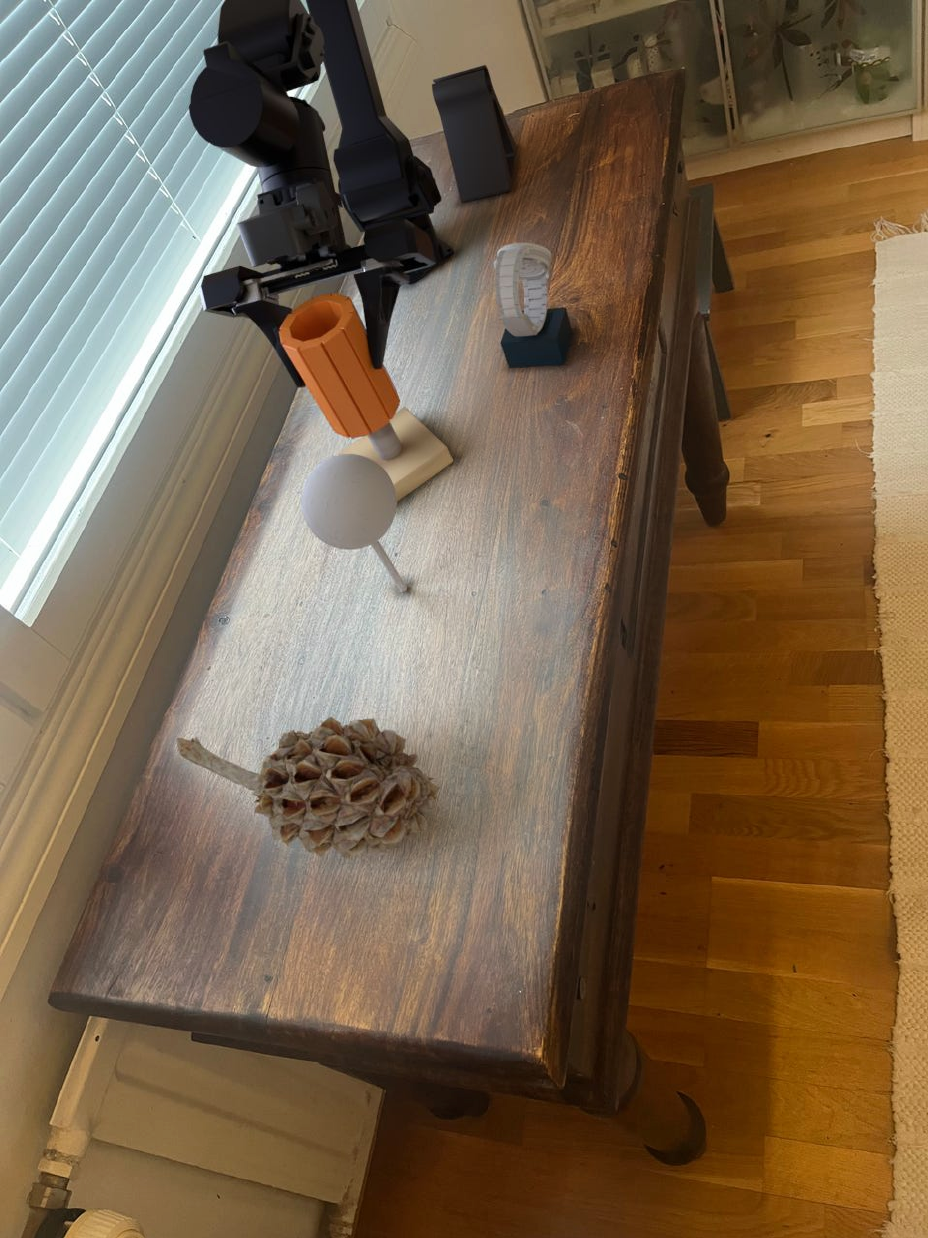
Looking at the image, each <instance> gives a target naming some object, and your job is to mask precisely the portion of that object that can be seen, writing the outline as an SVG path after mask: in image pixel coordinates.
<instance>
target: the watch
mask: <svg viewBox="0 0 928 1238" xmlns="http://www.w3.org/2000/svg"><path fill="white" fill-rule="evenodd" d="M551 260H552V252H551V251H550V249H548V248H546V247H545V246H543V245H540V244H536V243H530V242H514V243H508V244H506V245H503V246H502V247H500V248H499V249H498V251H497V252H496V259H495V260H493V268H494V290H495V298H496V299H495V300H496V304H497V309H498V312H499V315H500V317H501V318H500V321H501V323H502V325H503V326H504V331H503V333H502V337H501V340H500V343H499V344H500V346H501V349H502V352H503V354H504V358H505V360H506V363H507V366H508V368H509V369H517V368H533V367H534V368H535V367H551V366H564V365H565V363H566V360H567V356H568V352H569V349H570V345H571V343H572V338H573V335H574V331H573V329H572V328H573V327H572V324H571V320H570V317H569V313H568V310H567V307H566V306H564V307H551V308H548V305H549V295H548V293H549V286H548V285H549V284H548V279H550V271H551ZM520 282H522V286H523V288H522V289H523V296H524V298H523V300H524V301H523V303H524V307H523V310H522V305H521V299H520V294H519V293H520V284H519V283H520Z"/></svg>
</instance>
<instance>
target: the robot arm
mask: <svg viewBox="0 0 928 1238" xmlns="http://www.w3.org/2000/svg"><path fill="white" fill-rule="evenodd" d="M305 3H306V7H307V8H306V7H305V5H304V3H303V2H302V0H224V1H223V3H222V4H221V6H220V9H219V18H218V19H219V20H218V27H217V37H216V39H217V44H216V45H213V46H209V47H207V48H204V49H203V53H202V54H203V57H204V62H205V67H204V68H203V69H202V70H201V72H200V73H199V74H198V76H197V77H196V80H195V81H194V82H193V83H194V84H193V86H192V89H191V93H190V101H189V103H190V104H189V105H188V112H189V117H190V120H191V123H192V127H194V129H195V131H196V133H197V134H198V135H199V136H200V137H201V138H202V139H203V140H204V141H205V142H206V143H208V144H210V145H211V146H214V147H215V148H217V149H219V150H220V151H222V152H225V153H227V154H228V155H230V156H231V157H233V158H235V159H237V160H239V161H241V162H243V163H245V164H247V165H248V166H250V167H255V168H256V170H257V173H258V178H259V182H260V187H261V191H262V192H261V193H259V194H257V195H256V196H257V200H256V201H257V208H258V214H256V215H253V216H251V217H248V218H246V219H244V220H242V221H240V222H238V223H236V226H237V229H238V231H239V235H240V238H241V240H242V242H243V246H244V248H245V251H246V254H247V256H248V260H249V261H250V265H251V267H252V268H255V267H256V268H257V267H260V266H264V265H266V264H267V265H270V266H273V265H278V268H275V269H271V270H268V271H264V272H262V271H261V272H260V271H257V270H254V269H251V268H249V267H246V266H244V265H237V266H233V267H230V268H227V269H223V270H219V271H216V272H213V273H212V272H211V273H209V274H206V275H205V274H204V275H203V278H202V281H201V284H200V287H199V290H198V293H199V296H200V297H199V298H200V301H201V306H202V309H203V310H202V311H203V312H206V313H210V314H214V315H220V316H222V317H223V316H225V317H229V318H233V319H234V318H235V319H236V318H244V319H249V320H250V321H251V322H253V323H254V324H255V326H257V328H259V330H260V331H261V332H262V333H263V335H264V336H265V337H266V339H267V340H268V341H269V343H270V345H271V347H272V348H273V349H274V351H275V353H276V355H277V356H278V358H279V359H280V361H281V364H282V365H283V366H284V368H285V369H286V371H287V373H288V374H289V376H290V378H291V379H292V381H293V383H294V384H295V386H296V387H297V388H299V389H303V388H306V387H307V386H306V384H305V382H304V381H303V379H302V377H301V376H300V374H299V372H298V371H297V369H296V367H295V366H294V364H293V362H292V361H291V359H290V357H289V356H288V354H287V352H286V351H285V349H284V347H283V346H282V344H281V340H280V335H279V331H280V327H281V325H282V324H283V322H284V320H285V319H286V317H287V315H288V314H292V313H291V311H292V310H293V308H292V307H288V306H285V305H282V304H280V300H279V299H280V297H279V294H284V293H287V292H291V291H294V290H297V289H302V288H305V287H309V286H313V285H317V284H320V283H323V282H327V281H331V280H335V279H339V278H343V277H346V276H350V275H353V279H354V281H355V285H356V287H357V289H358V292H359V296H360V297H361V302H362V309H363V318H364V326H365V328H366V332H367V339H368V346H369V352H370V356H371V359H372V363H373V367H374V369H377V370H378V369H382V367H383V364H384V360H385V356H386V355H385V354H386V348H387V342H388V337H389V331H390V326H391V320H392V317H393V312H394V310H395V306H396V303H397V299H398V295H399V292H400V289H401V287H402V286H405V285H412V284H413V283H414V282H416V281H417V280H419V279H420V278H422V277H423V276H425V275H426V274H428V273H429V272H430V271H433V269H435V268H436V267H438V266H439V265H441V264H443V263H444V262H445V261H446V260H448V259H450V258H451V257H453V255H454V254H455V249H454V247H452V246H451V245H449V244H448V243H447V242H445V241H443V240H442V239H440V238H439V237H438V235H437V231H436V230H435V227H434V224H433V221H432V219H431V217H430V215H431V214H434V213H435V207H437V205H439V204H440V202H442V195H441V192H440V189H439V186H438V185H437V181H436V179H435V177H434V175H433V171H432V168H431V167H429V166H428V165H427V164H426V163H425V162H424V161H422V159H420V157H418V156H417V155H414V152H413V148H412V145H411V142H410V140H409V138H408V137H407V136H406V135H405V134H404V132H403V131H402V130H401V129H400V128H399V127H398V126H397V125H396V124H395V123H394V122H393V121H392V120H391V118H389V116H388V115H387V113H386V109H385V106H384V100H383V97H382V95H381V91H380V90H381V89H380V87H379V83H378V79H377V75H376V72H375V71H376V70H375V67H374V64H373V60H372V57H371V52H370V50H369V45H368V41H367V37H366V34H365V30H364V26H363V23H362V18H361V14H360V11H359V8H358V4H357V0H305ZM322 64H323V66H324V69H325V74H326V76H327V79H328V84H329V87H330V90H331V94H332V97H333V101H334V104H335V107H336V112H337V115H338V118H339V121H340V126H341V132H340V136H339V141H338V146H337V148H334V151H333V157H332V161H333V164H334V166H335V170H336V173H337V175H338V181H337V188H338V192H336V187H335V183H334V179H333V173H332V170H331V165H330V159H329V155H328V150H327V145H326V140H325V135H324V132H325V131H326V125H325V122H324V120H323V119H322V117H321V115H320V113H319V111H318V110H317V109H316V108H315V107H313V106H312V105H311V104H310V103H308V101H307V100H306V99H304V98H303V99H302V98H299V97H295V96H290V95H289V94H288V92H290V91H294V90H297V89H299V88H301V87H306V86H309V85H311V84H314V83H315V82H318V81H319V79H320V77H321V74H322V73H321V72H322ZM342 208H344V210H345V211H346V213H347V214H348V216H349V217H350V219H351V220H352V222H353V223H354V225H355V226H356V228H357V229H358V230H359V232H360V233H361V234H362V233H363V244H360V245H357V246H354V247H352V246H351V245H350V244H348V243H347V241H346V240H347V239H346V236H345V231H344V227H343V222H342V217H341V212H340V209H342Z"/></svg>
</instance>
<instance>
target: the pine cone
mask: <svg viewBox="0 0 928 1238" xmlns="http://www.w3.org/2000/svg"><path fill="white" fill-rule="evenodd" d="M175 736H176V746H177V748H176V750H177V751H178V755H180V756H181V757H182V758H184V759H185V760H187V761H189V762H190V763H193V764H194V765H196V766H199V767H202V768H203V769H206V770H208V771H210V772H212V773H214V774H216V775H218V776H220V777H221V778H224V779H226V780H229V781H230V782H232V783H233V784H235V785H240V786H243V787H244V788H246V789H247V790H249V791H252V796H253V797H256V798H258V799H256V800H254V803H258V805H257V806H255V808H254V813H255V814H260V815H263V816H264V817H265V818H267V819H268V820H267V822H268V824H269V827H270V828H271V836H272V839H273V841H278V840H282V843H284V844H285V845H286V846H289V845H291V843H293V842H294V841H295V840H296V839H297V838H298V840H299V841H301V845H302V846H303V848H304V849H305V850H306V851H307V852H308V853H315V855H317V856H318V857H320V858H322V857H324V855H325V854H326V853H327V852H328V851H329V849H330V848H331V847H332V848H333V849H336V850H337V851H338V852H339V854H341V856H342V857H343V858H344V859H345V860H347V859H349V858H352V857H358V858H359V857H360V856H363V854H364V852H365V850H366V848H367V846H368V847H370V848H371V849H372V850H374V851H375V852H377V853H382V854H383V853H387V852H388V850H393V849H397V848H399V845H400V844H399V843H400V842H402V841H403V838H405V839H413V840H414V839H415V840H417V839H419V837H420V836H419V835H420V832H421V833H422V832H424V831H426V829H427V828H428V826H429V825H428V820H427V818H426V816H425V815H424V814H427V812H428V811H431V810H436V809H437V808H436V807H437V801H436V800H437V798H438V797H437V795H438V793H439V790H440V789H441V787H440V786H438V785H437V784H435V783H433V782H432V780H434V777H432V776H428V775H427V774H426V773H424V772H423V770H421V768H419V767H415V766H414V765H415V764H416V763H417V762H418V761H419V760H418V759H419V755H418V754H417V753H412V754H407V753H405V752H404V750H405V748H406V741H407V739H406V738H404V737H402V736H400V735H399V734H397V733H396V731H395V730H392V729H384V730H382V731H381V730H380V728H379V726H378V724H377V722H376V719H375V718H363V719H353V720H351V721H350V722H349V723H348V724H344V725H343V726H342V724H341V722H340V721H339V720H337V719H335V718H334V717H332V716H329V717H328V718H327V719H325V720H324V721H323V722H321V724H320V725H319V726H317V727H315V728H314V729H313V731H309V732H308V733H306V732H305V733H304V732H303V731H302V730H297V731H295V730H294V729H292V730H290V731H288V732H284V733H282V735H281V736H280V738H279V739H278V747H277V749H276V750H274V751H273V753H272V754H269V755H268V756H266V758H265V759H264V760H263V761H262V766H261V769H260V771H259V773H257V772H254V771H250V770H248V769H246V768H244V767H241V766H240V765H238V764H235V763H233V762H232V761H229V760H227V759H224V758H222V757H220V756H218V755H216V754H215V753H213V752H211V751H210V750H208V749H207V748H205V747H204V746H203V745H202V742H201V741H200V738H199V737H197V736H195V737H192V738H191V739H187V738H184V737H180V736H179V735H178V734H177V733H175Z"/></svg>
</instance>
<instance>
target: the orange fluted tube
mask: <svg viewBox="0 0 928 1238" xmlns="http://www.w3.org/2000/svg"><path fill="white" fill-rule="evenodd" d="M291 313H292V314H288V315H287V317H286V319H285V320H284V322H283V324H282V325H281V327H280V331H279V335H280V340H281V344H282V346H283V347H284V349H285V351H286V352H287V354H288V356H289V357H290V359H291V361H292V362H293V364H294V366H295V367H296V369H297V371H298V372H299V374H300V376H301V377H302V379H303V381H304V382H305V384H306V386H305V387H307V389H308V391H309V393H310V394H311V396H312V397H313V400H314V401H315V403H316V405H317V406H318V407H319V409H320V411H321V413H322V415H323V416H324V417H325V419H326V421H327V422H328V425H329V426H330V427H331V429H332V431H334V433H335V434H337V435H340V436H342V437H344V438H346V439H350V438H351V439H358V438H361V437H363V436H367V435H370V434H371V432H372V433H375V432H376V431H378V430H379V429H380V428H382V427H383V426H385V425H386V424H388V423H389V422H390V420H389V419H393V417H394V415H395V413H397V412H398V409H399V407H400V404H401V400H400V397H399V394H398V393H399V392H398V391H397V388H396V386H395V383H394V382H393V380H392V378H391V376H390V374H389V372H388V370H387V368H386V366H385V364H384V363H383V367H382V369H378V370H377V369H374V367H373V363H372V359H371V356H370V352H369V346H368V339H367V332H366V325H365V323H364V322H363V320H362V318H361V316H360V314H359V312H358V311H357V308H356V306H355V304H354V302H353V300H352V299H351V298H350V297H349V295H344V294H340V293H337V292H333V293H332V292H328V293H325V294H321V295H316V296H313V297H311V299H306V300H305V301H304V302H302V303H300V304H299V305H298V306H296V307H295V308H293V309H292V311H291Z"/></svg>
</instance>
